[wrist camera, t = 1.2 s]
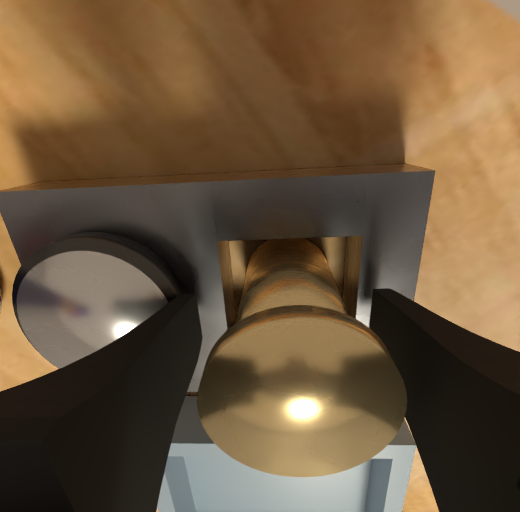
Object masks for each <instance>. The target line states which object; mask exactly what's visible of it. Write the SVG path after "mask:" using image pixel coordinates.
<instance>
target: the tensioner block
mask: <svg viewBox="0 0 520 512" xmlns="http://www.w3.org/2000/svg"><path fill="white" fill-rule="evenodd" d="M434 175H435V170H431V169H427V168H422V167H418V166H414V165H410V164H406V163H404V164H385V165H365V166H345V167H325V168H305V169H286V170H266V171H246V172H226V173H206V174H187V175H167V176H147V177H127V178H107V179H88V180H68V181H48V182H38V183H33V184H29V185H24V186H19V187H14V188H10V189H5V190H0V212H1V215H2V217H3V220H4V222H5V225H6V228H7V230H8V233H9V235H10V238H11V240H12V243H13V245H14V248H15V250H16V253H17V255H18V258H19V260H20V263H21V267H20V269H19V271H18V273H17V275H16V277H15V281H14V284H13V292H12V300H13V308H14V312H15V316H16V318H17V321H18V324H19V326H20V328H21V330H22V332H23V333H24V335H25V336H26V338H27V339H28V341H29V342H30V343H31V344H32V346H33V347H34V348H35V349H36V350H37V351H38V352H39V353H40V354H41V355H42V356H43V357H44V358H45V359H46V360H48V361H49V362H50V363H51V364H53V365H54V366H56V367H57V368H59V369H60V368H63V367H65V366H67V365H69V364H71V363H73V362H75V361H77V360H79V359H81V358H83V357H85V356H88V355H90V354H92V353H94V352H95V351H97V350H99V349H101V348H103V347H104V346H106V345H108V344H110V343H111V342H113V341H115V340H116V339H118V338H120V337H121V336H123V335H124V334H126V333H127V332H129V331H130V330H132V329H133V328H135V327H136V326H138V325H139V324H141V323H142V322H144V321H145V320H146V319H148V318H149V317H150V316H152V315H153V314H155V313H156V312H157V311H159V310H160V309H161V308H163V307H164V306H165V305H167V304H168V303H169V302H171V301H172V300H173V299H175V298H176V297H178V296H179V295H187V294H196V298H197V304H198V310H199V317H200V323H201V330H202V336H203V339H202V344H201V349H200V354H199V358H198V362H197V365H196V368H195V371H194V374H193V377H192V379H191V382H190V385H189V388H188V391H187V392H198V388H199V384H200V381H201V377H202V374H203V371H204V367H205V364H206V361H207V358H208V356H209V353H210V351H211V349H212V348H213V346H214V345H215V343H216V342H217V340H218V339H219V338H220V337H221V336H222V335H223V334H224V332H226V331H227V330H228V329H229V328H230V327H232V326H233V325H234V324H236V322H237V320H236V310H235V300H234V290H233V280H232V270H231V260H230V250H229V241H232V240H260V239H288V238H316V237H344V236H347V237H346V253H345V270H344V287H343V302H344V305H345V307H346V310H347V312H348V315H349V316H351V317H353V318H355V319H357V320H358V321H360V322H362V323H363V324H365V325H366V326H367V327H369V322H370V312H371V302H372V293H373V289H382V288H390V289H392V290H394V291H396V292H398V293H400V294H402V295H404V296H405V297H407V298H409V299H411V300H412V301H414V297H415V291H416V284H417V278H418V272H419V266H420V260H421V254H422V248H423V242H424V236H425V230H426V224H427V218H428V212H429V206H430V200H431V194H432V188H433V181H434Z"/></svg>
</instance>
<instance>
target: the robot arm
mask: <svg viewBox="0 0 520 512" xmlns="http://www.w3.org/2000/svg"><path fill="white" fill-rule="evenodd" d="M369 328H370V329H371V330H372V331H373V332H374V333H375V334H376V335H377V336H378V337H379V338H380V339H381V340H382V342H383V343H384V345H385V346H386V348H387V350H388V351H389V353H390V355H391V357H392V359H393V361H394V363H395V365H396V367H397V369H398V371H399V373H400V375H401V377H402V379H403V381H404V385H405V388H406V394H407V408H406V414H405V418H406V420H407V422H408V425H409V427H410V430H411V433H412V435H413V438H414V440H415V443H416V446H417V448H418V451H419V454H420V457H421V459H422V462H423V465H424V468H425V471H426V474H427V476H428V479H429V482H430V485H431V488H432V491H433V494H434V497H435V500H436V503H437V506H438V509H439V512H520V352H518V351H515V350H513V349H510V348H508V347H505V346H502V345H500V344H498V343H495V342H493V341H491V340H488V339H486V338H483V337H481V336H479V335H477V334H474V333H472V332H470V331H468V330H466V329H464V328H462V327H460V326H458V325H456V324H454V323H452V322H450V321H448V320H446V319H444V318H442V317H440V316H439V315H437V314H435V313H433V312H431V311H430V310H428V309H426V308H424V307H423V306H421V305H419V304H417V303H416V302H414V301H412V300H411V299H409V298H407V297H405V296H404V295H402V294H400V293H398V292H396V291H394V290H392V289H390V288H382V289H373V293H372V302H371V312H370V322H369ZM202 339H203V336H202V330H201V323H200V317H199V310H198V304H197V298H196V294H187V295H179V296H178V297H176V298H175V299H173V300H172V301H171V302H169V303H168V304H167V305H165V306H164V307H163V308H161V309H160V310H159V311H157V312H156V313H155V314H153V315H152V316H150V317H149V318H148V319H146V320H145V321H144V322H142V323H141V324H139V325H138V326H136V327H135V328H133V329H132V330H130V331H129V332H127V333H126V334H124V335H123V336H121V337H120V338H118V339H116V340H115V341H113V342H111V343H110V344H108V345H106V346H104V347H103V348H101V349H99V350H97V351H95V352H94V353H92V354H90V355H88V356H85V357H83V358H81V359H79V360H77V361H75V362H73V363H71V364H69V365H67V366H65V367H63V368H60V369H58V370H56V371H53V372H51V373H49V374H46V375H44V376H41V377H39V378H36V379H34V380H31V381H29V382H26V383H24V384H21V385H18V386H15V387H13V388H10V389H7V390H4V391H1V392H0V512H156V509H157V504H158V499H159V494H160V490H161V485H162V481H163V476H164V472H165V467H166V463H167V459H168V454H169V450H170V446H171V442H172V438H173V434H174V430H175V426H176V423H177V419H178V416H179V413H180V410H181V407H182V405H183V402H184V399H185V396H186V393H187V391H188V388H189V385H190V382H191V379H192V377H193V374H194V371H195V368H196V365H197V362H198V358H199V354H200V349H201V344H202Z"/></svg>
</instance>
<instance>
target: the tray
mask: <svg viewBox="0 0 520 512" xmlns="http://www.w3.org/2000/svg"><path fill="white" fill-rule="evenodd" d="M415 449H416V444H415V442H414V439H413V437H412V435H411V433H410V430H409V428H408V426H407V424H406V422H405V419H404V421H403V423H402V425H401V427H400V430H399V431H398V433H397V434H396V436H395V437H394V439H393V440H392V441H391V442H390V443H389V444H388V445H387V446H386V447H385V448H384V449H383V450H382V451H381V452H380V453H378V454H377V455H376V456H374V457H373V458H371V459H370V460H368V461H366V462H364V463H362V464H360V465H358V466H356V467H353V468H351V469H348V470H345V471H342V472H339V473H335V474H330V475H325V476H317V477H287V476H280V475H274V474H270V473H265V472H262V471H259V470H256V469H253V468H251V467H248V466H246V465H244V464H242V463H240V462H238V461H236V460H235V459H233V458H232V457H230V456H229V455H227V454H226V453H224V452H223V451H222V450H221V449H220V448H219V447H218V446H217V445H216V444H215V443H214V442H213V441H212V440H211V438H210V437H209V436H208V434H207V433H206V431H205V429H204V427H203V425H202V423H201V421H200V417H199V414H198V408H197V396H185V399H184V402H183V405H182V407H181V410H180V413H179V416H178V419H177V423H176V426H175V430H174V434H173V438H172V442H171V446H170V450H169V454H168V459H167V463H166V467H165V472H164V476H163V481H162V485H161V490H160V494H159V499H158V504H157V507H158V510H159V512H402V510H403V505H404V500H405V496H406V491H407V486H408V482H409V477H410V472H411V468H412V463H413V458H414V454H415Z"/></svg>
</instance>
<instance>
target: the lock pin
mask: <svg viewBox="0 0 520 512" xmlns="http://www.w3.org/2000/svg"><path fill="white" fill-rule="evenodd" d="M197 408H198V414H199V417H200V421H201V423H202V425H203V427H204V429H205V431H206V433H207V434H208V436H209V437H210V438H211V440H212V441H213V442H214V443H215V444H216V445H217V446H218V447H219V448H220V449H221V450H222V451H223V452H224V453H226V454H227V455H229V456H230V457H232V458H233V459H235V460H236V461H238V462H240V463H242V464H244V465H246V466H248V467H251V468H253V469H256V470H259V471H262V472H265V473H270V474H274V475H280V476H287V477H317V476H325V475H330V474H335V473H339V472H342V471H345V470H348V469H351V468H353V467H356V466H358V465H360V464H362V463H364V462H366V461H368V460H370V459H371V458H373V457H374V456H376V455H377V454H378V453H380V452H381V451H382V450H383V449H384V448H385V447H386V446H387V445H388V444H389V443H390V442H391V441H392V440H393V439H394V437H395V436H396V434H397V433H398V431H399V430H400V427H401V425H402V423H403V421H404V417H405V414H406V408H407V394H406V388H405V385H404V381H403V379H402V377H401V375H400V373H399V371H398V369H397V367H396V365H395V363H394V361H393V359H392V357H391V355H390V353H389V351H388V350H387V348H386V346H385V345H384V343H383V342H382V340H381V339H380V338H379V337H378V336H377V335H376V334H375V333H374V332H373V331H372V330H371V329H370V328H369V327H367V326H366V325H365V324H363V323H362V322H360V321H358V320H357V319H355V318H353V317H351V316H349V315H348V312H347V310H346V307H345V305H344V302H343V300H342V297H341V295H340V292H339V290H338V288H337V285H336V283H335V280H334V278H333V275H332V273H331V270H330V268H329V265H328V263H327V260H326V258H325V256H324V254H323V253H322V251H321V250H320V249H319V248H318V247H317V246H316V245H315V244H313V243H312V242H310V241H308V240H306V239H304V238H288V239H270V240H269V241H267V242H265V243H263V244H262V245H261V246H260V247H258V248H257V249H256V251H255V252H254V253H253V255H252V256H251V258H250V261H249V264H248V267H247V272H246V277H245V282H244V287H243V292H242V297H241V302H240V307H239V312H238V317H237V322H236V324H234V325H233V326H232V327H230V328H229V329H228V330H227V331H226V332H224V334H223V335H222V336H221V337H220V338H219V339H218V340H217V342H216V343H215V345H214V346H213V348H212V349H211V351H210V353H209V356H208V358H207V361H206V364H205V367H204V371H203V374H202V377H201V381H200V384H199V388H198V393H197Z"/></svg>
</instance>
